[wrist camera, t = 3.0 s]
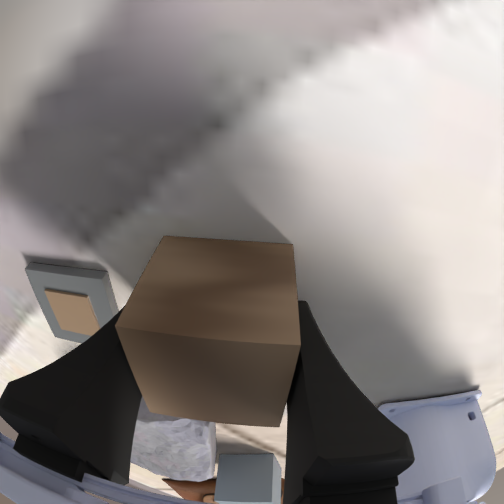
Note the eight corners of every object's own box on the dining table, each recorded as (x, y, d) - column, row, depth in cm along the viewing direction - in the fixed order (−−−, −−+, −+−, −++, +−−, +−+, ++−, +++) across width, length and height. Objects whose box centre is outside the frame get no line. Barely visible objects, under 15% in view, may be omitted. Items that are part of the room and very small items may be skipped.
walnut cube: (292, 243, 12) (300, 345, 8) (279, 333, 15) (279, 427, 10) (164, 234, 12) (115, 325, 8) (176, 324, 15) (150, 412, 11)
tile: (107, 271, 13) (100, 281, 12) (129, 344, 16) (125, 354, 15) (30, 262, 13) (23, 271, 13) (59, 330, 16) (53, 338, 15)
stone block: (129, 416, 25) (227, 452, 24) (107, 453, 21) (210, 496, 20) (93, 333, 19) (227, 378, 18) (54, 379, 15) (198, 445, 13)
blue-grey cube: (273, 452, 23) (271, 502, 19) (281, 467, 26) (280, 510, 22) (219, 453, 24) (213, 500, 20) (234, 468, 27) (229, 509, 23)
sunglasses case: (266, 471, 27) (282, 522, 23) (295, 457, 32) (308, 501, 29) (157, 478, 33) (169, 518, 30) (191, 470, 39) (202, 507, 35)
